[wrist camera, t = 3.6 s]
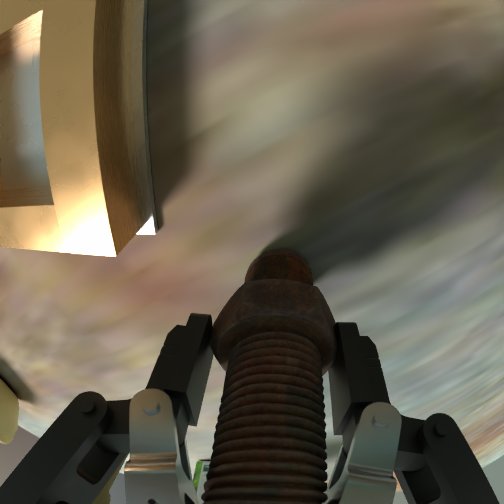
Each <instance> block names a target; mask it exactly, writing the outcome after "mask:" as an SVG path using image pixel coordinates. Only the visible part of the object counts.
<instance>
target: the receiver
mask: <svg viewBox="0 0 504 504" xmlns="http://www.w3.org/2000/svg"><path fill="white" fill-rule="evenodd" d="M147 10H148V0H0V247H9V248H20V249H31V250H43V251H54V252H66V253H78V254H91V255H103V256H117V255H118V254H119V253H120V251H121V250H122V249H123V248H124V247H125V246H126V245H127V244H128V242H129V241H130V240H131V239H132V238H133V237H134V236H135V235H136V234H152V235H155V234H156V233H157V232H158V226H157V219H156V211H155V202H154V193H153V184H152V174H151V162H150V150H149V136H148V118H147V91H146V35H147Z"/></svg>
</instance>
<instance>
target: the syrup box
mask: <svg viewBox="0 0 504 504" xmlns="http://www.w3.org/2000/svg"><path fill="white" fill-rule="evenodd" d="M210 462H211V461H197V463H196V468H195V473H194V478H193V484H194V487H195V490H196V494H197V498H198V502H199V504H202V503H204V501H203V500H202V499H201V495H202V494H203V493H204V492H205V490H204V483H205V482H206V481H207V479H206V474H207V473H208V471H209V464H210Z"/></svg>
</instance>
